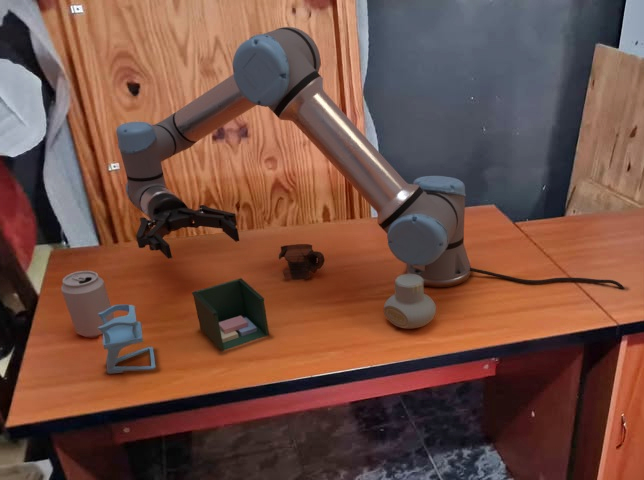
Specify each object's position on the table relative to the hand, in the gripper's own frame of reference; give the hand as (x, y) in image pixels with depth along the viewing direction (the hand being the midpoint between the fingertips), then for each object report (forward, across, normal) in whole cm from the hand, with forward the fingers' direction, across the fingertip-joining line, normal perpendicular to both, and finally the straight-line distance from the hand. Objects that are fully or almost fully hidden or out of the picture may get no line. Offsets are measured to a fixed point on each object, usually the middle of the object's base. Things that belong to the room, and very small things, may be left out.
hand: (203, 243), depth 134 cm
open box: (+8, 0, -17) cm, 19 cm away
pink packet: (+8, 0, -15) cm, 17 cm away
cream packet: (+8, +2, -16) cm, 18 cm away
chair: (+7, +20, -17) cm, 27 cm away
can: (-10, +21, -17) cm, 29 cm away
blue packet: (+8, -2, -16) cm, 19 cm away
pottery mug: (-8, -24, -17) cm, 31 cm away
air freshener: (+25, -31, -17) cm, 44 cm away
